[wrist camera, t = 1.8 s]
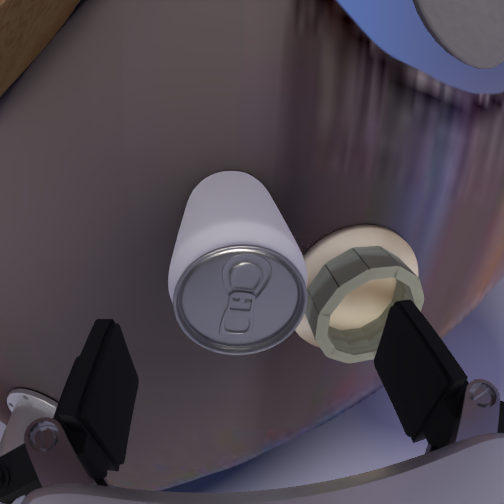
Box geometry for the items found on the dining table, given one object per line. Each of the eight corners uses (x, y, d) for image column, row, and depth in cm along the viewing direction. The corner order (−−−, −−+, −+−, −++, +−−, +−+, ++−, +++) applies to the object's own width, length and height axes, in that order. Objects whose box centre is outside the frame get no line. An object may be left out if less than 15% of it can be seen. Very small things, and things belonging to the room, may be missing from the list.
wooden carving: (100, -54, 12) (50, -110, 4) (136, -33, 14) (93, -96, 5) (-21, 105, 17) (-102, 123, 8) (6, 132, 18) (-78, 160, 9)
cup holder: (396, 333, 32) (414, 360, 28) (282, 349, 30) (291, 383, 26) (424, 222, 26) (453, 243, 22) (288, 227, 25) (302, 252, 21)
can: (280, 176, 23) (336, 246, 12) (263, 254, 26) (295, 364, 15) (191, 163, 22) (166, 224, 11) (182, 245, 24) (161, 355, 14)
